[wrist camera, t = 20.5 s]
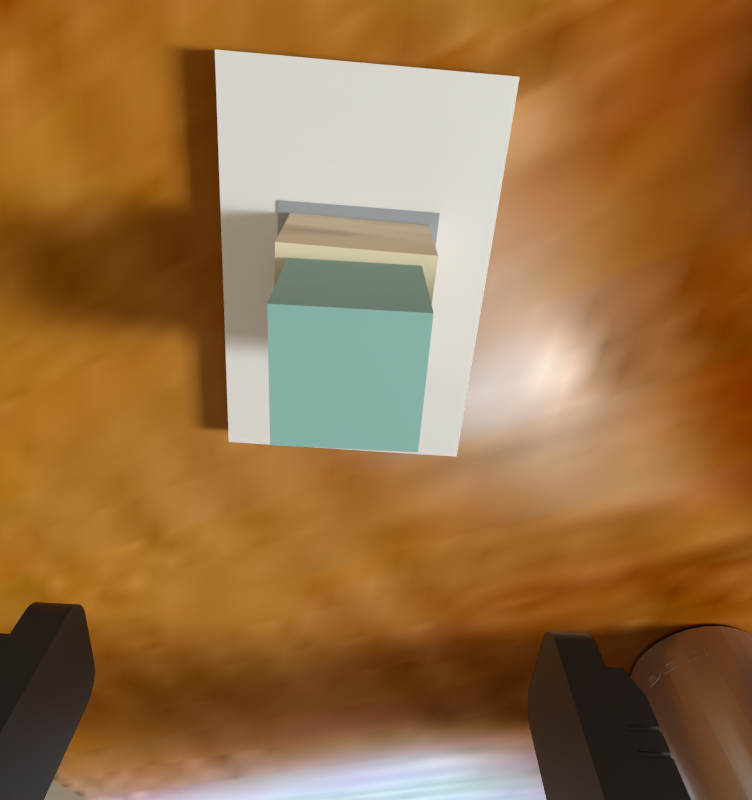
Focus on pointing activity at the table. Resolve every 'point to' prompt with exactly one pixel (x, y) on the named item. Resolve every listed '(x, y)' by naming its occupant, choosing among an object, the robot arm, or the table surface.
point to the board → (357, 199)
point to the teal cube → (348, 354)
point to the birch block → (356, 242)
